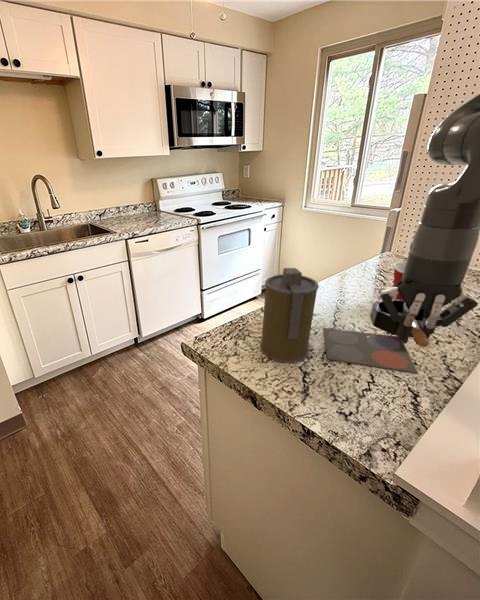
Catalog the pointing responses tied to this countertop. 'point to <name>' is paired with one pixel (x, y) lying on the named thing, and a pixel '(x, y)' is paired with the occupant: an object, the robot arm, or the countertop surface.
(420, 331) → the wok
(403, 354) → the grey slab
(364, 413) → the countertop surface
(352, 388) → the countertop surface
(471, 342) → the countertop surface
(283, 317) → the canister
